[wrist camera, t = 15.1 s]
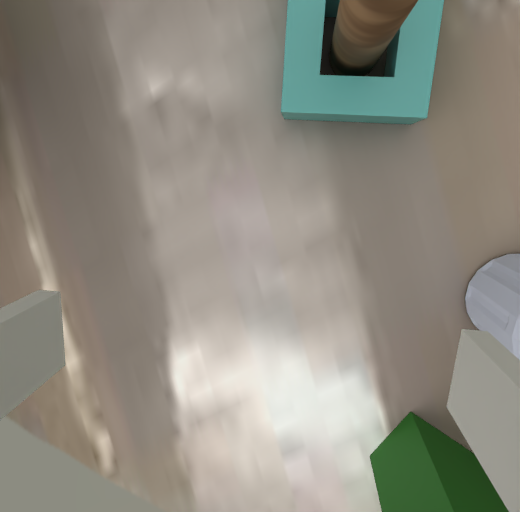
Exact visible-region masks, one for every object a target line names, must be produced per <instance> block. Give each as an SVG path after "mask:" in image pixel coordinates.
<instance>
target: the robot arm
mask: <svg viewBox="0 0 520 512" xmlns="http://www.w3.org/2000/svg"><path fill="white" fill-rule="evenodd" d="M64 366H65V352H64V338H63V324H62V310H61V296H60V292H57V291H47V290H38V291H35V292H33V293H31V294H29V295H27V296H25V297H23V298H21V299H19V300H17V301H15V302H12V303H10V304H8V305H6V306H4V307H2V308H0V420H1V419H2V418H4V417H5V416H6V415H7V414H8V413H10V412H11V411H12V410H13V409H14V408H15V407H17V406H18V405H19V404H20V403H21V402H22V401H24V400H25V399H26V398H27V397H28V396H30V395H31V394H32V393H33V392H34V391H35V390H37V389H38V388H39V387H40V386H41V385H42V384H44V383H45V382H46V381H47V380H48V379H50V378H51V377H52V376H53V375H54V374H55V373H57V372H58V371H59V370H60V369H61V368H62V367H64ZM447 409H448V410H449V412H450V414H451V415H452V417H453V419H454V420H455V422H456V424H457V425H458V427H459V429H460V431H461V432H462V434H463V436H464V437H465V439H466V441H467V442H468V444H469V446H470V447H471V449H472V451H473V452H474V454H475V456H476V457H477V459H478V461H479V462H480V464H481V466H482V468H483V469H484V471H485V473H486V474H487V476H488V478H489V479H490V481H491V483H492V484H493V486H494V488H495V489H496V491H497V493H498V494H499V496H500V498H501V499H502V501H503V503H504V505H505V506H506V508H507V510H508V511H509V512H520V360H519V359H518V358H517V357H516V356H514V355H513V354H512V353H511V352H510V351H509V350H508V349H507V348H506V347H504V346H503V345H502V344H501V343H500V342H499V341H498V340H497V339H496V338H495V337H493V336H492V335H491V334H490V333H489V332H488V331H478V330H468V329H462V331H461V336H460V341H459V346H458V351H457V356H456V361H455V366H454V372H453V377H452V382H451V387H450V392H449V397H448V402H447Z"/></svg>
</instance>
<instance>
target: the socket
mask: <svg viewBox="0 0 520 512" xmlns="http://www.w3.org/2000/svg"><path fill="white" fill-rule="evenodd" d="M339 2H340V0H288V7H287V23H286V39H285V56H284V72H283V88H282V104H281V113H282V115H283V117H284V119H294V120H318V121H342V122H366V123H390V124H413V123H416V122H418V121H420V120H423V119H425V118H427V114H428V107H429V100H430V94H431V87H432V80H433V73H434V66H435V59H436V52H437V45H438V38H439V31H440V24H441V17H442V10H443V3H444V0H418V2H417V3H416V5H415V6H414V8H413V9H412V11H411V12H410V14H409V15H408V16H407V18H406V19H405V21H404V22H403V24H402V25H401V27H400V28H399V30H398V31H397V33H396V34H395V36H394V37H393V39H392V40H391V42H390V43H389V45H388V46H387V55H386V63H385V72H384V77H369V76H336V75H320V64H321V52H322V40H323V28H324V17H337V12H338V7H339Z"/></svg>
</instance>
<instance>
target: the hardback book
mask: <svg viewBox="0 0 520 512" xmlns="http://www.w3.org/2000/svg"><path fill="white" fill-rule="evenodd" d="M370 459H371V464H372V468H373V473H374V477H375V482H376V486H377V491H378V495H379V500H380V504H381V509H382V512H509V511H508V510H507V508H506V506H505V505H504V503H503V501H502V499H501V498H500V496H499V494H498V493H497V491H496V489H495V488H494V486H493V484H492V483H491V481H490V479H489V478H488V476H487V474H486V473H485V471H484V469H483V468H482V466H481V464H480V462H479V461H478V459H477V457H476V456H475V454H474V453H472V452H471V451H469V450H468V449H466V448H465V447H463V446H462V445H460V444H459V443H457V442H456V441H454V440H453V439H451V438H450V437H448V436H447V435H445V434H444V433H442V432H441V431H439V430H438V429H436V428H435V427H433V426H432V425H430V424H429V423H427V422H426V421H424V420H423V419H421V418H420V417H418V416H417V415H415V414H414V413H412V412H410V413H409V414H408V415H407V416H406V417H405V418H404V419H403V420H402V421H401V423H400V424H399V425H398V426H397V427H396V428H395V429H394V430H393V431H392V432H391V433H390V435H389V436H388V437H387V438H386V439H385V440H384V441H383V442H382V443H381V444H380V445H379V446H378V448H377V449H376V450H375V451H374V452H373V453H372V454H371V455H370Z"/></svg>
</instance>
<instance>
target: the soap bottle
mask: <svg viewBox="0 0 520 512" xmlns="http://www.w3.org/2000/svg"><path fill="white" fill-rule="evenodd" d="M465 301H466V308H467V314H468V315H469V317H470V319H471V320H472V322H473V324H474V325H475V326H476V327H477V328H478V329H479V330H480V331H488V332H489V333H490V334H491V335H492V336H493V337H495V338H496V339H497V340H498V341H499V342H500V343H501V344H502V345H503V346H504V347H506V348H507V349H508V350H509V351H510V352H511V353H512V354H513V355H514V356H516V357H517V358H518V359H519V360H520V254H507V255H504V256H501V257H499V258H496V259H493V260H491V261H489V262H488V263H487V264H485V265H484V266H483V267H481V268H480V269H479V270H478V271H477V272H476V274H475V275H474V276H473V278H472V279H471V281H470V282H469V285H468V289H467V293H466V297H465Z"/></svg>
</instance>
